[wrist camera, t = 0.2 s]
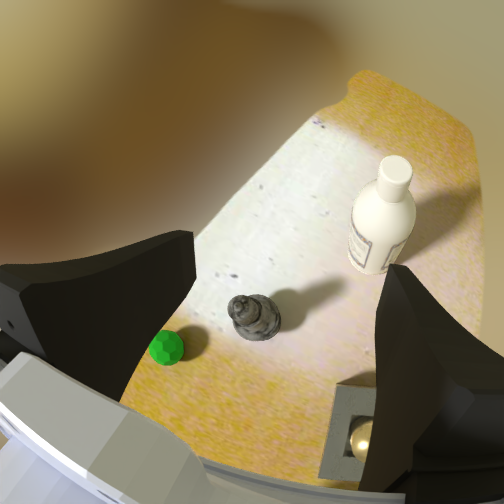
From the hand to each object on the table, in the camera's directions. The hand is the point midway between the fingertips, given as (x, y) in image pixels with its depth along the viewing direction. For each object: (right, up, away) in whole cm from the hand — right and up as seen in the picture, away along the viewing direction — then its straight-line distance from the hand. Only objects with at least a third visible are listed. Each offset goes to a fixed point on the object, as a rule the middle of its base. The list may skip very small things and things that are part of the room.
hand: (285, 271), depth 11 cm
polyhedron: (-12, -13, +32) cm, 37 cm away
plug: (+13, -22, +21) cm, 33 cm away
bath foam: (+15, +1, +30) cm, 34 cm away
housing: (+13, -22, +22) cm, 34 cm away
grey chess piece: (0, -9, +31) cm, 32 cm away
